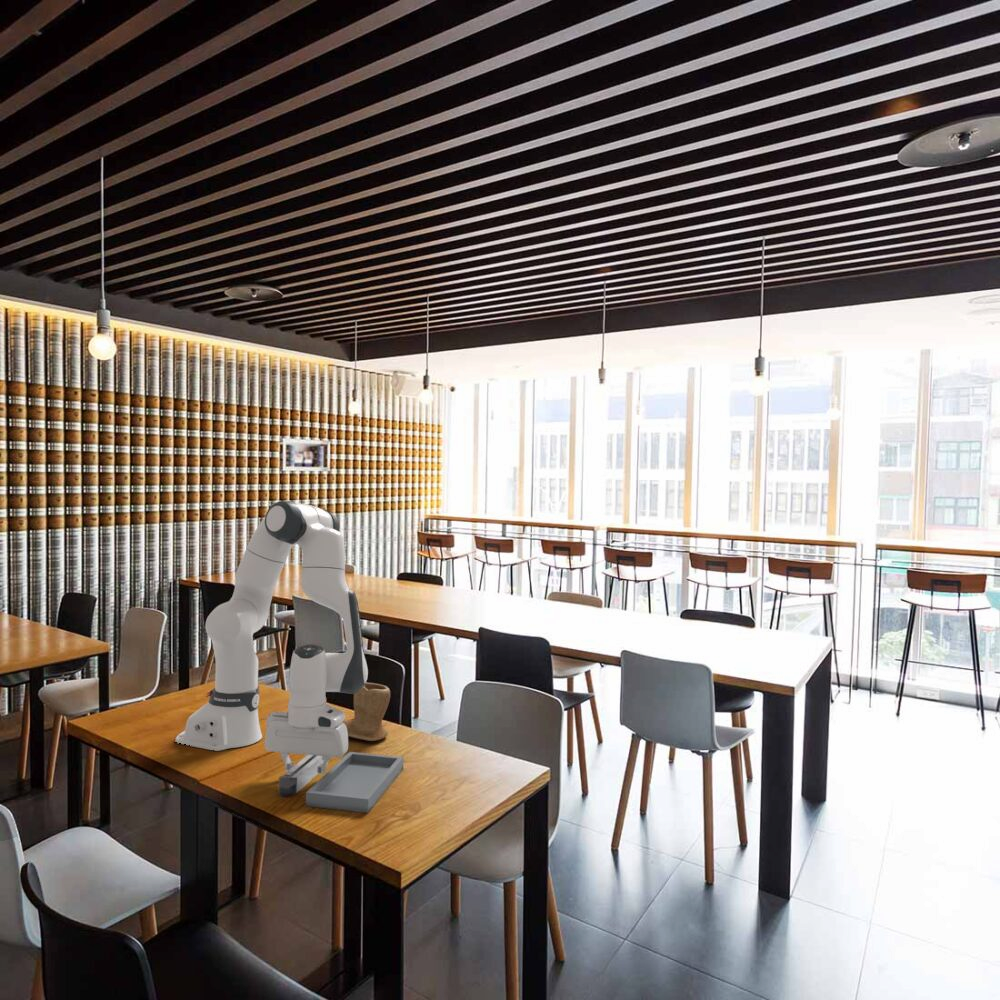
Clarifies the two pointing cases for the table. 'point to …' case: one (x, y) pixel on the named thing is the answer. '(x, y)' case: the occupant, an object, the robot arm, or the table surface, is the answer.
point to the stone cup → (369, 712)
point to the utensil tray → (355, 782)
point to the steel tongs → (299, 775)
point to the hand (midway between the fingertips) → (305, 771)
